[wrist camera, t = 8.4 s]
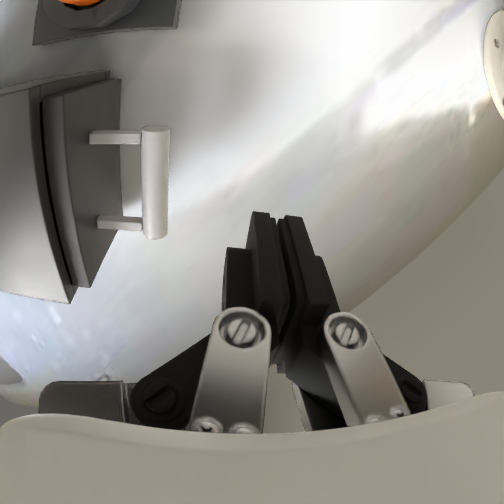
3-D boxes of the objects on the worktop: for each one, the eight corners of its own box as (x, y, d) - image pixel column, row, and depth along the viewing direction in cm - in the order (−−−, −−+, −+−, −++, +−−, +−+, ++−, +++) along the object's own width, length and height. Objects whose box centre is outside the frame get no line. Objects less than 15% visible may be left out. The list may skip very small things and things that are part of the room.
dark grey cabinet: (110, 69, 14) (29, 87, 7) (113, 220, 21) (70, 304, 14) (-23, 95, 12) (-100, 134, 5) (-5, 214, 19) (-58, 277, 12)
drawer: (187, 78, 15) (161, 89, 9) (177, 224, 21) (161, 296, 15) (-14, 100, 12) (-78, 131, 6) (3, 214, 18) (-41, 266, 13)
